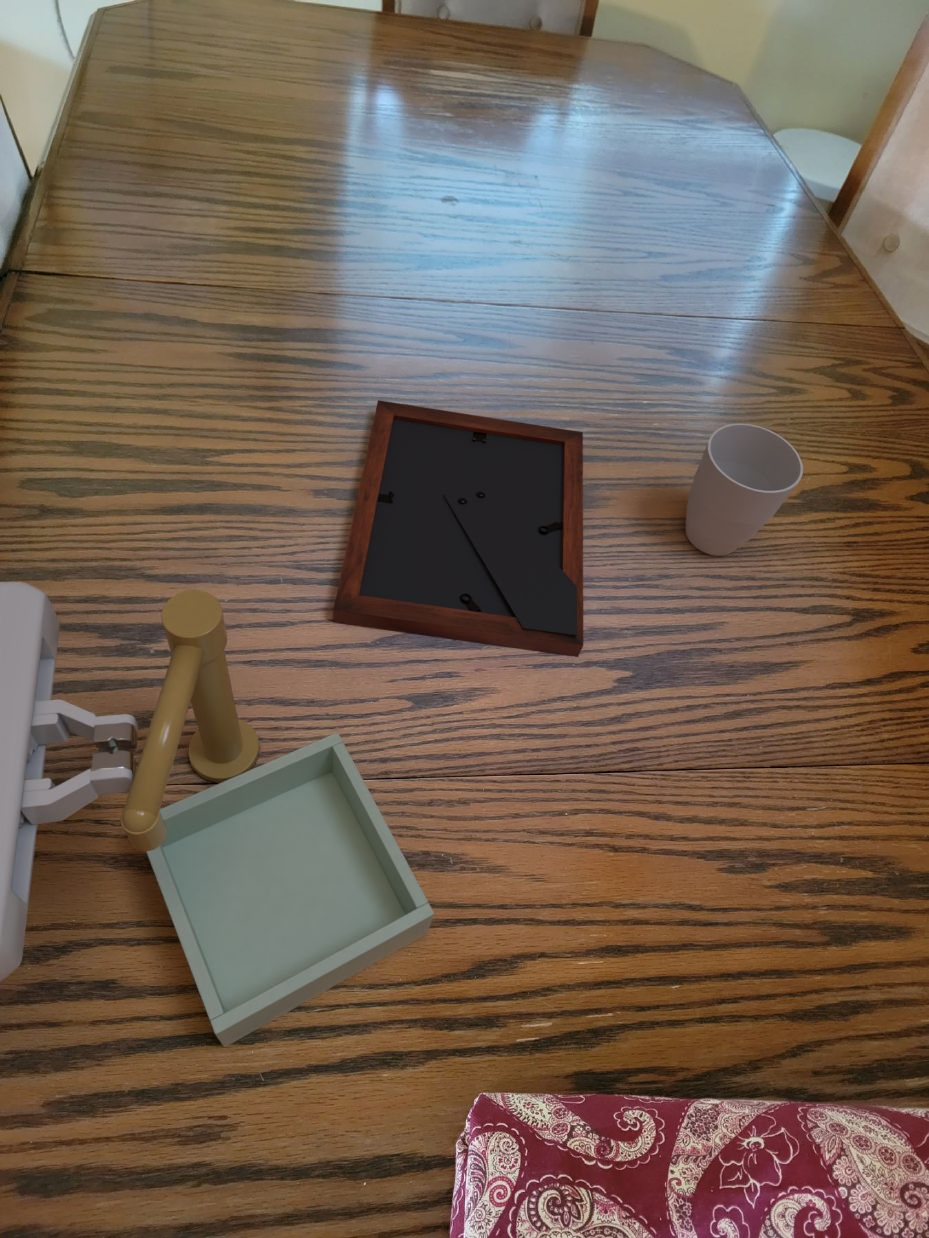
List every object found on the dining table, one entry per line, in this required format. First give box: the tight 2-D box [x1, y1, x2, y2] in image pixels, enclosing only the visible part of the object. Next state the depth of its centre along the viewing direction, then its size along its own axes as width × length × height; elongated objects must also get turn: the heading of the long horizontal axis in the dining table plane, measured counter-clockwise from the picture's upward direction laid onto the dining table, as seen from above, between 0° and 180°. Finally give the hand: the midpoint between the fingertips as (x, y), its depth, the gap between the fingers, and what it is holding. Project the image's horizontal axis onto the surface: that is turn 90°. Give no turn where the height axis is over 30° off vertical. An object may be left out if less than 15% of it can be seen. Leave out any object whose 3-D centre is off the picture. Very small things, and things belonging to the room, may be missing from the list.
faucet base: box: [187, 649, 261, 784], centre depth 54 cm, size 5×5×14 cm
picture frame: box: [332, 399, 584, 657], centre depth 74 cm, size 20×2×25 cm
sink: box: [145, 731, 435, 1048], centre depth 52 cm, size 14×14×5 cm
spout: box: [119, 589, 228, 852], centre depth 44 cm, size 14×3×4 cm, turn 177°
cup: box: [685, 422, 804, 557], centre depth 74 cm, size 8×8×10 cm
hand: (135, 751), depth 42 cm, fingers closed
